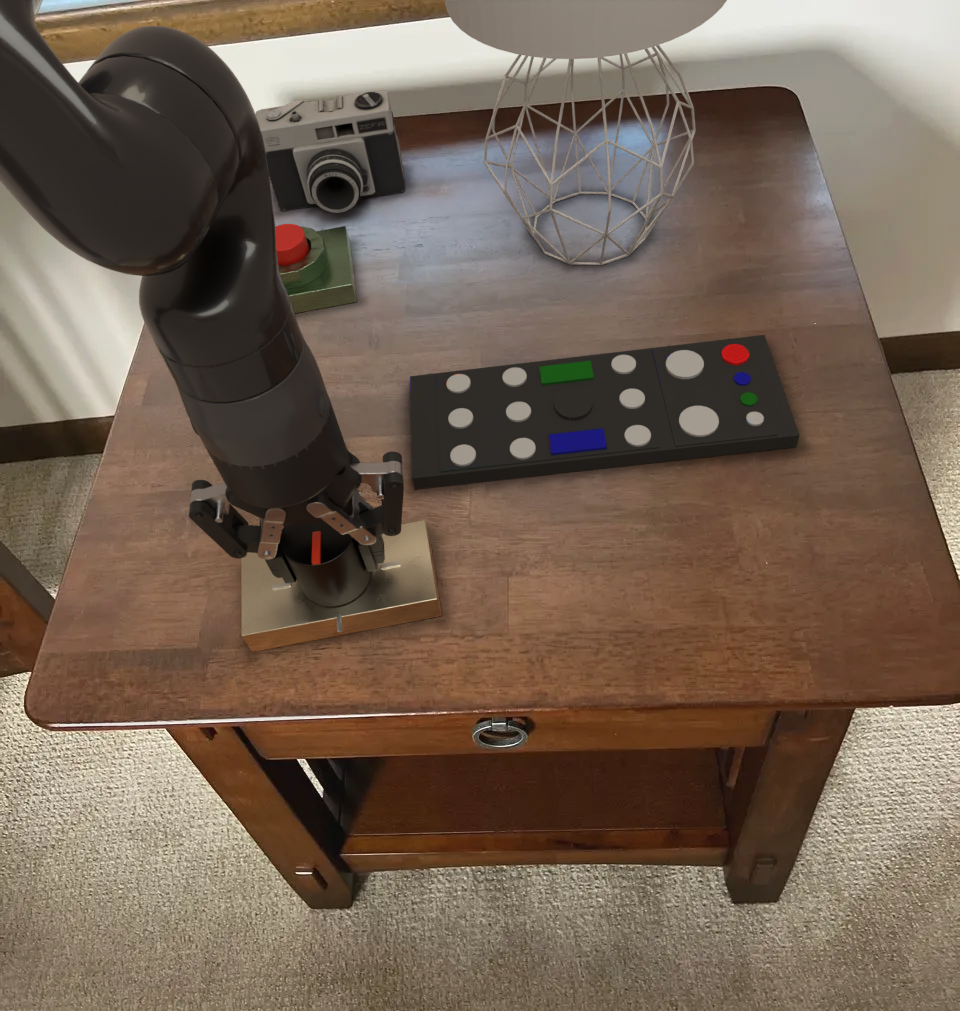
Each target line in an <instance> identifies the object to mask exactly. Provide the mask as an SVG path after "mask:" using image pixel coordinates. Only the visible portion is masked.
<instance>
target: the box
mask: <svg viewBox="0 0 960 1011" xmlns="http://www.w3.org/2000/svg"><path fill="white" fill-rule="evenodd" d="M300 227H301V228H302V229H303V230H304V233H305V236H306V239H307V242H308V246H309V252H308V254H307V256H306V257H305V258H304V259H302V260H300V261H299V262H297V263H295V264H290V265H284V266H279V265H278V269H279V274H280V276H281V279H282V281H283V283H284V286H285V289H286V291H287V294H288V297H289V300H290V302H291V305H292V308H293V311H294V314H299V313H305V312H309V311H315V310H320V309H321V310H322V309H326V308H331V307H335V306H337V307H338V306H342V305H347V304H353V303H357V301H358V299H357V290H356V281H355V276H354V275H355V273H354V265H353V256H352V248H351V241H350V237H349V234H348V230H347V226H346V225H342V226H338V227H333V228H327V229H321V230H315V229H314V228H312V227H305V226H300Z"/></svg>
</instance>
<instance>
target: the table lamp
mask: <svg viewBox="0 0 960 1011" xmlns="http://www.w3.org/2000/svg"><path fill="white" fill-rule="evenodd" d="M727 1H728V0H444V5H445V9H446V12H447V14H448V16H449V18H450V19H451V21H452V23H453V24H454V25H455V26H456V27H457V28H458V29H459V30H460V31H462V33H464V34H466V35H467V36H469V37H470V38H471V39H474V40H476V41H478V42H479V43H481V44H483V45H486V46H488V47H490V48H494V49H496V50H499V51H503V52H506V53H511V54H514V55H517V57H515V59H514V61H513V62H512V64H511V65H510V66H509V68H508V70H507V71H506V73H505V74H504V77H503V78H502V82H501V85H500V88H499V90H498V93H497V96H496V99H495V102H494V105H493V107H492V116H491V119H490V122H489V126H488V129H487V132H486V136H485V138H484V149H483V150H484V152H483V163H484V165H485V168H487V170H488V171H489V173H490V175H491V176H492V178H493V179H494V180H495V183H496V185H497V186H498V187H499V189H500V190H501V192H502V194H503V195H504V197H505V198H506V199H507V201H508V203H509V204H510V206H511V207H512V209H513V210H514V211H515V213H516V214H517V216H518V217H519V219H520V220H521V222H522V223H523V225H524V226H525V228H526V229H527V232H528V233H529V234H530V235H531V236H532V238H533V239H534V241H535V242H536V244H537V246H538V247H539V249H540V250H541V251H542V253H543V254H544V255H547V256H549V257H551V258H553V259H555V260H558V261H560V262H563V263H564V264H567V265H576V266H577V265H579V266H580V265H581V266H603V265H606V264H609V263H613V262H614V261H617V260H620V259H623V258H628V257H629V256H630V255H631V254H633V252H634V251H636V250H637V248H638V247H640V246H641V244H643V242H645V241H646V239H647V237H648V236H649V235H650V233H651V231H652V230H653V229H654V228H655V226H656V225H657V223H658V221H659V220H660V218H661V217H662V216H663V214H664V212H665V211H666V210H667V208H668V207H669V205H670V204H671V202H672V201H673V199H674V198H675V195H676V194H677V192H678V191H679V189H680V187H681V186H682V184H684V181H685V179H686V178H687V176H688V175H689V173H690V171H691V170H692V169H693V167H694V165H695V156H694V146H693V139H694V137H695V134H696V132H697V131H696V130H697V129H696V118H695V107H694V104H693V101H692V100H691V97H690V93H689V91H688V89H687V86H686V83H685V81H684V78H683V74H681V72H680V71H679V70H678V68H677V67H676V66H675V64H674V63H673V62H672V60H671V59H670V58H669V56H668V55H667V54H666V52H665V51H664V49H663V48H662V46H660V45H662V44H665V43H667V42H670V41H671V42H672V41H673V40H675V39H678V38H680V37H682V36H684V35H686V34H689V33H690V32H692V31H693V30H695V29H697V28H698V27H701V26H702V25H703V24H705V23H706V22H707V21H709V20H710V19H711V18H712V17H714V16H715V15H716V14H717V13H718V12H719V11H720V10H721V9H722V8H723V6H724V5H725V4H726V3H727ZM650 48H651V49H652V51H653V52H654V53H651V51H650V50H649V49H650ZM642 50H644V51H645V53H646V54H647V56H645V57H642V58H641V59H639V60H636V61H634V62H632V63H631V61H630V58H629V55H628V54H629V53H634V52H638V51H642ZM618 55H619V60H620V61H619V62H620V65H619V64H618V63H616V62H614V61H612V60H609V59H608V58H607V57H615V56H618ZM661 55H662V56H661ZM522 56H524V58H523V59H522V61H521V63H520V64H519V66H518V68H517V69H516V71H515V73H514V74H513V76H512V77H511V76H509V75H510V74H511V72H512V70H513V69H514V68H515V66H516V64H517V63H518V61H519V60H520V59H521V57H522ZM623 56H624V59H625V61H626V63H627V65H625V64H624V59H623ZM529 57H530V61H529V65H528V68H527V73H526V77H525V80H521V79H518V78H517V76H518V74H519V72H520V71H521V69H522V68H523V66H524V64H525V63H526V62H527V59H528V58H529ZM655 57H656V58H657V61H658V63H657V62H656V59H655ZM663 57H664V58H663ZM534 58H541V59H542V60H541V63H540V65H539V68H538V70H537V71H536V72H535V73H534V74H533V75H532V76H531V77H530V74H531V70H532V66H533V63H534ZM547 59H549V60H550V61H548V62H547V63H546V61H547ZM583 59H597V67H598V77H599V86H600V87H599V88H600V89H599V90H600V97H601V98H600V100H601V108H600V109H599V110H598V111H597V112H595V113H594V114H593V115H592V116H591V117H590V118H588V120H587V121H586V122H584V123H583V124H582V125H581V126H580V127H579V128H578V129H577V124H576V110H575V99H574V97H575V96H574V64H575V63H574V62H575V60H583ZM664 59H665V60H664ZM557 60H568V63H567V69H566V75H565V80H564V86H563V91H562V98H561V103H560V107H559V108H560V109H559V115H558V119H557V121H556V120H555V119H553V118H551V117H550V116H548V115H546V114H544V113H543V112H541V111H540V110H537V108H536V109H535V108H534V107H533V106H531V105H528V103H529V101H530V99H531V97H532V94H533V92H534V90H535V87H536V86H537V85H536V84H537V83H538V80H539V77H540V75H541V73H542V72H543V71H544V70H545V69H547V68H548V67H549V66H550V65H552V64H553V63H554V62H555V61H557ZM647 60H650V61H651V63H652V64H653V66H654V68H655V69H656V70H657V73H658V74H659V77H660V78H661V80H662V81H663V83H664V84H665V98H666V105H665V109H664V111H663V114H662V117H661V119H660V123H659V126H658V128H657V132H656V133H655V129H654V125H653V121H652V119H651V116H650V113H649V110H648V108H647V106H646V102H645V100H644V96H643V94H642V91H641V88H640V86H639V83H638V79H637V77H636V75H635V71H634V69H633V66H636V65H638V64H641V63H643V62H646V61H647ZM602 61H605V62H607V63H608V64H610V65H612V66H614V67H616V68H618V69H619V70H621V86H622V87H621V88H622V89H621V90H620V91H619V92H617V93H616V94H615V95H614V96H613V97H612V98H610V100H609V101H608V102H606V103H605V91H604V79H603V69H602ZM665 61H667V63H668V65H670V67H671V68H672V69H673V71H674V72H675V74H676V75H677V76H678V78H679V82H680V83H679V82H678V80H677V79H676V78H675V76H674V74H673V73H672V71H671V69H670V68H669V67H668V65H667V63H666V62H665ZM658 64H659V65H658ZM627 69H629V72H630V75H631V77H632V80H633V82H634V86H635V89H636V92H637V94H638V96H639V100H640V102H641V105H642V107H643V110H644V113H645V116H646V118H647V121H648V124H649V127H650V132H651V136H650V134H649V132H648V130H647V128H646V126H645V124H644V122H643V121H642V119H641V117H640V115H639V113H638V111H637V110H636V107H635V106H634V104H633V102H632V100H631V98H630V96H629V94H628V93H627V90H626V84H625V82H626V81H625V70H627ZM665 70H666V72H667V73H668V75H669V77H670V78H671V80H672V81H673V83H674V84H675V86H676V88H677V89H678V90H679V91H680V94H681V95H682V96H683V98H684V100H685V102H686V103H685V102H683V101H680V100H679V98H678V96H677V94H676V93H675V91H674V89H673V88H672V86H671V85H670V83H669V81H668V78H667V75H666V72H665ZM507 79H508V80H510V81H509V82H508V84H507V86H506V87H505V84H506V82H507ZM532 80H533V82H532V84H531V87H530V90H529V92H528V84H529V83H530V82H531V81H532ZM569 80H570V100H571V114H572V126H573V130H572V129H570V127H569V128H568V127H567V126H565V125H564V124H562V119H563V115H564V114H563V113H564V107H565V102H566V96H567V90H568V84H569ZM513 82H516V83H520V84H523V85H524V90H523V91H524V96H523V106H522V108H521V111H520V112H519V113H520V114H519V116H518V118H517V121H516V123H515V124H514V125H512V126H510V127H508V128H505V129H503V130H500V131H498V132H496V131H495V128H496V125H495V124H496V116H497V113H498V110H499V107H500V105H501V103H502V101H503V99H504V97H505V96H506V94H507V93H508V91H509V89H510V87H511V86H512V84H513ZM680 84H681V85H680ZM681 86H682V87H681ZM504 87H505V89H504ZM670 94H671V96H672V97H673V99H674V101H675V102H676V103H675V107H674V111H673V114H672V119H671V122H670V126H669V130H668V133H667V136H666V139H665V140H662V141H660V142H657V141H658V139H659V136H660V132H661V129H662V127H663V124H664V121H665V118H666V115H667V113H668V109H669V106H670ZM620 95H621V97H620V104H619V112H618V119H617V126H616V132H615V138H614V141H612V140H609V134H608V123H607V113H606V108H607V107H608V106H609V105H610V104H611V103H613V101H615V100H616V99H617V98H618V97H619V96H620ZM624 97H625V98H626V100H627V101H628V104H629V105H630V107H631V109H632V111H633V113H634V115H635V117H636V119H637V121H638V122H639V124H640V127H641V128H642V130H643V132H644V134H645V136H646V137H647V139H648V141H649V144H650V145H651V146H650V147H649V149H648V150H646V151H645V153H644V154H643V155H640V154H638V153H636V152H634V151H632V150H631V149H628V148H626V147H624V146H622V145H620V144H618V141H619V136H620V135H619V134H620V128H621V127H620V126H621V120H622V112H623V104H624ZM682 106H683V107H686V108H688V109H690V112H691V113H690V114H691V124H692V129H691V130H690V128H689V125H688V122H687V119H686V116H685V113H684V110H683V108H682ZM529 110H530V111H532V112H534V113H536V114H537V115H539V116H541V117H542V118H544V119H546V120H547V121H549V122H551V123H553V124H555V125H556V130H555V131H556V132H555V137H554V145H553V156H552V162H551V163H552V164H551V174H550V176H549V175H548V173H547V170H546V167H545V163H544V160H543V157H542V153H541V151H540V147H539V144H538V140H537V137H536V133H535V130H534V127H533V122H532V119H531V115H530V112H529ZM678 110H679V113H680V116H681V119H682V121H683V124H684V127H685V130H686V132H683V133H680V134H678V135H675V136H672V132H673V128H674V125H675V121H676V118H677V113H678ZM525 113H526V116H527V120H528V124H529V127H530V128H529V129H530V131H531V133H532V135H531V136H532V138H533V141H534V145H535V148H536V151H537V155H538V156H537V155H536V153H535V151H534V149H533V148H532V146H531V145H530V143H529V141H528V140H527V138H526V136H525V134H524V133H523V131H522V127H523V121H524V117H525ZM600 113H602V119H603V120H602V122H603V131H604V140H603V141H602V142H601V143H599V144H598V145H597V146H595V148H593V149H592V150H590V151H589V152H588V151H587V150H586V147H585V146H584V145H583V142H582V140H581V139H580V137H579V135H578V133H580V132H581V131H582V130H583V129H584V128H585V127H586V126H587V125H588V124H590V122H592V121H593V120H594V119H595V118H596V117H597V116H598V115H599V114H600ZM561 128H562V129H563V130H565V131H567V132H569V133H571V134H572V138H571V141H570V143H569V148H568V150H567V154H566V156H565V159H564V163H563V167H562V169H561V172H560V176H558V177H557V178H555V168H556V162H557V151H558V142H559V135H560V129H561ZM511 130H513V133H512V138H511V142H510V146H509V150H508V154H507V153H506V151H505V149H504V147H503V145H502V143H501V140H500V139H499V135H502V134H505V133H507V132H509V131H511ZM491 131H492V134H491ZM685 136H688V139H687V141H686V142H685V144H684V147H683V149H682V151H681V153H680V155H679V157H678V159H677V160H676V162H675V164H674V166H673V168H672V170H671V171H670V173H669V175H668V177H667V179H666V180H665V182H664V180H663V166H664V162H665V159H666V156H667V151H668V147H669V144H670V142H672V141H674V140H676V139H679V138H682V137H685ZM520 137H521V138H522V140H523V141H524V143H525V145H526V147H527V148H528V150H529V152H530V153H531V155H532V157H533V158H534V160H535V162H536V163H537V165H538V167H539V169H540V170H541V172H542V174H543V175H544V177H545V181H546V184H547V187H548V192H549V194H548V193H547V192H546V191H544V190H543V189H542V188H540V187H539V186H537V184H535V183H534V182H533V181H531V180H530V179H529V178H527V177H526V175H523V174H522V173H521V172H520V171H519V170H517V169H516V168H515V167H514V162H515V158H516V154H517V150H518V145H519V140H520ZM651 137H652V138H651ZM493 138H495V140H496V142H497V144H498V146H499V148H500V150H501V153H502V154H503V156H504V158H505V160H506V162H505V164H504V163H498V162H495V161H490V160H487V159H488V147H489V146H488V144H489V140H491V139H493ZM578 144H579V145H580V147H581V149H582V150H583V152H584V156H583V157H582V158H581V159H580V160H579V151H578ZM609 144H610V145H612V146H614V147H613V154H612V159H611V167H610V150H609V148H610V147H609ZM573 145H574V146H575V147H574V150H575V160H576V161H575V164H573V165H572V166H571V167H569V168H568V169H567V170H566V167H567V164H568V162H569V158H570V154H571V151H572V148H573ZM604 145H605V157H606V174H607V186H606V184H605V181H604V180H603V178H602V176H601V175H600V172H599V171H598V169H597V168H596V166H595V164H594V162H593V160H592V158H591V156H592V155H593V154H594V153H596V152H597V151H598V150H599V149H600V148H601V147H603V146H604ZM661 145H664V149H663V152H662V155H661V156H660V152H659V147H658V146H661ZM617 148H618V149H620V150H622V151H624V152H626V153H628V154H630V155H632V156H634V157H635V158H638V160H637V161H636V162H635V163H634V164H633V165H632V166H631V167H630V168H629V170H628V171H626V172H625V174H624V175H622V177H621V178H620V179H619V180H618V181H617V182H616V183H615V184H613V186H612V181H613V175H614V167H615V160H616V154H617ZM689 152H690V161H691V163H690V165H689V166H688V168H687V170H686V171H685V173H684V175H683V176H682V174H683V170H684V168H685V164H686V161H687V159H688V155H689ZM647 155H648V157H647V158H646V156H647ZM655 156H656V159H657V163H656V162H654V159H655ZM538 157H539V158H538ZM682 158H683V159H682ZM586 159H587V160H588V162H589V163H590V165H591V167H592V169H593V170H594V171H595V174H596V175H597V178H598V180H599V181H600V182H601V185H602V187H603V188H604V190H605V191H582V190H581V188H582V187H581V177H580V176H581V175H580V164H582V163H583V162H584V161H585V160H586ZM681 160H682V162H681V166H680V169H679V172H678V174H677V176H676V180H675V184H674V186H673V189H672V193H671V194H669V193H667V192H664V191H665V190H666V187H667V185H668V184H669V182H670V180H671V178H672V176H673V175H674V173H675V171H676V170H677V168H678V166H679V163H680V161H681ZM642 161H644V162H645V165H644V168H643V170H642V172H641V173H642V174H641V176H640V179H639V181H638V184H637V186H636V190H635V192H634V195H633V198H632V200H631V199H628V198H625V197H623V196H620V195H617V194H615V193H612V192H613V191H614V190H615V189H616V188H617V187H618V186H619V185H620V184H621V182H622V181H623V180H624V179H626V177H627V176H628V175H629V174H631V172H632V171H633V170H634V169H635V168H636V167H637V166H638V165H639V164H640V163H641V162H642ZM649 164H650V168H649V175H648V176H649V178H648V187H647V196H646V197H647V198H646V202H645V204H643V205H642V206H641V207H639V206H638V205H637V203H635V201H636V198H637V197H638V193H639V191H640V188H641V185H642V183H643V179H644V177H645V174H646V172H647V169H648V166H649ZM490 165H491V166H496V167H501V168H505V169H504V186H503V185H502V183H501V181H500V180H499V179H498V177H497V176H496V174H495V172H494V171H493V169H492V167H491V166H490ZM654 167H655V168H658V170H659V171H658V172H659V189H660V191H659V193H658V194H657V195H656V196H653V198H651V189H652V180H653V179H652V178H653V169H654ZM575 168H576V173H577V174H576V175H577V182H578V183H577V186H578V191H577V192H575V193H571V194H568V195H565V196H561V197H558V198H557V195H558V192H559V190H560V186H561V182H562V180H563V178H564V177H565V176H567V175H568V174H569V173H570V172H571V171H573V170H574V169H575ZM509 169H510V171H511V174H512V178H513V181H514V185H515V187H516V190H517V193H518V197H519V200H520V202H521V206H522V209H523V212H524V215H525V216H523V215H522V213H521V212H520V210H519V208H518V206H517V205H516V204H515V202H514V200H513V199H512V197H511V195H510V194H509V192H508V191H507V189H508V171H509ZM518 176H519V177H521V178H522V179H523V180H525V181H526V182H527V183H529V184H530V185H531V186H532V187H534V188H535V189H536V190H538V191H539V193H541V194H542V195H544V196H545V197H546V198H548V199H549V204H548V205H546V206H545V207H544V208H543V209H542V210H541V211H538V212H537V211H536V209H535V208H534V206H533V204H532V202H531V200H530V198H529V196H528V195H527V193H526V190H525V188H524V186H523V185H522V183H521V181H520V179H519V177H518ZM681 176H682V178H681ZM554 178H555V179H554ZM680 179H681V180H680ZM555 184H556V188H555V191H554V185H555ZM521 191H522V193H523V195H524V198H525V199H526V201H527V203H528V206H529V208H530V209H531V211H532V213H531V214H528V211H527V208H526V205H525V202H524V198H523V196H522V193H521ZM578 195H607V204H608V205H607V209H608V210H607V216H606V224H605V229H604V231H602V230H600V229H598V228H595V227H594V226H591V225H589V224H586V223H584V222H582V221H581V220H578V219H576V218H573V217H571V216H569V215H567V214H565V213H562V212H561V211H558V210H556V209H554V208H553V207H554V206H553V204H555V203H558V202H560V201H563V200H566V199H568V198H571V197H575V196H578ZM612 197H615V198H617V199H620V200H622V201H625V202H627V203H630V204H632V205H633V206H634V207H635V209H637V210H636V211H634V212H632V213H631V214H630V215H629V216H627V217H626V218H624V219H623V220H622V221H621V222H619V223H618V224H616V225H615V226H614V227H612V228H611V229H610V230H609V227H610V222H611V221H610V220H611V214H612ZM662 197H667V199H666V200H665V201H664V202H662V203H661V204H660V205H659V203H660V201H661V199H662ZM650 198H651V199H650ZM651 204H652V206H651V208H650V205H651ZM658 205H659V206H658ZM643 210H645V213H644V212H643ZM658 211H659V212H658ZM657 212H658V213H657ZM546 213H550V215H551V218H552V222H553V225H554V227H555V228H554V229H555V231H556V234H557V236H558V239H559V243H560V244H561V248H562V249H563V252H564V255H565V256H564V255H563V253H562V252H561V251H559V250H558V249H557V248H556V247H555V246H554V245H553V244H552V243H551V242H550V241H548V239H547V238H545V237H544V236H543V235H542V234H541V233H540V232H539V231H538V230H537V229H536V228H537V223H538V218H539V217H540V216H541V215H542V214H546ZM638 213H639V214H640V215H641V216H642V217H643V218H644V224H643V226H642V227H641V228H640V231H639V232H638V234H637V236H636V238H635V239H634V241H633V242H632V245H631V246H630V248H629V249H628V250H627V249H625V248H624V247H623V246H622V245H621V244H619V243H618V242H617V241H616V240H615V239H613V238H612V237H611V236H610V234H611V233H613V232H614V231H615V230H617V229H618V228H620V227H621V226H622V225H624V224H625V223H626V222H628V221H630V219H632V218H633V217H634V216H636V215H637V214H638ZM656 213H657V214H656ZM555 214H556V215H559V216H561V217H563V218H565V219H568V220H569V221H571V222H575V223H576V224H578V225H581V226H583V227H585V228H587V229H590V230H592V231H594V232H596V233H598V234H600V235H601V236H600V237H599V238H597V239H596V240H595V241H593V242H592V243H591V244H590V245H589V246H587V247H586V248H585V249H583V251H581V252H580V253H579V254H577V255H576V256H575V257H573V258H572V259H571V260H570V256H569V253H568V251H567V248H566V245H565V243H564V240H563V237H562V235H561V231H560V229H559V225H558V223H557V220H556V216H555ZM655 214H656V215H655ZM654 215H655V217H654V218H653V219H652V221H651V222H650V220H651V218H652V216H654ZM533 217H534V224H533V226H532V223H531V220H530V218H533ZM648 224H649V225H648ZM536 235H537V236H538V237H539V238H540V239H541V240H542V241H543V242H544V243H546V244H547V245H548V246H549V247H550V248H551V249H552V250H553V251H554V252H555V253H556V254H557V255H558V256H557V255H556V254H553V253H551V252H548V251H546V250H545V248H544V247H543V245H542V244H541V242H540V241H539V239H538V238H537V236H536ZM607 239H608V240H609V241H610V242H612V244H614V245H615V246H616V247H617V248H618V249H620V250H621V251H622V252H623V253H624V254H621V255H618V256H616V257H613V258H610V259H607V260H604V255H605V249H606V243H607ZM602 240H603V242H602V248H601V253H600V259H599V262H591V261H590V262H589V261H586V262H583V261H582V262H581V261H580V262H579V261H577V260H579V258H581V257H582V256H583V255H584V254H586V253H587V252H588V251H590V250H591V249H592V248H593V247H595V246H596V245H597V244H598V243H600V242H601V241H602Z"/></svg>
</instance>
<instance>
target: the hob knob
mask: <svg viewBox="0 0 960 1011" xmlns="http://www.w3.org/2000/svg"><path fill="white" fill-rule="evenodd" d="M280 545H281V548H282V551H283V553H284V555H285V557H286V559H287V561H288V563H289V565H290V567H291V569H292V571H293V573H294V575H295V577H296V579H297V581H298V583H299V585H300V587H301V589H302V590H303V592H304V594H305V595H306V597H307V598H308V599H310V600H311V601H312V602H314V603H316V604H319V605H322V606H339V605H343V604H346V603H348V602H350V601H352V600H354V599H355V598H357V597H358V596H359V595H360V594H361V593H362V592H363V591H364V590H365V588H366V587H367V585H368V583H369V580H370V577H371V571H370V572H368V571H367V569H366V566H365V563H364V561H363V558H362V556H361V553H360V551H359V548H358V541H356V540H355V539H354V538H353V537H351V536H350V535H349V534H348V533H347V534H344V535H341V534H340V533H339V532H337V531H336V530H335V529H334V528H332V527H331V526H330V525H328V524H327V523H326V522H322V523H305V524H302V525H298V526H295V527H288V528H284V527H283V528H282V533H281V538H280Z"/></svg>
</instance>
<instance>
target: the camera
mask: <svg viewBox="0 0 960 1011" xmlns="http://www.w3.org/2000/svg"><path fill="white" fill-rule="evenodd" d="M389 96H390V95H389V92H388V90H386V89H379V90H374V91H365V92H361V93H355V94H348V95H343V96H342V95H341V94H339V95H336V98H335V99H330V100H324V97H320V98H319V99H318V100H311V99H307V100H303V99H301V100H294V101H291V102H289V103H287V104H285V105H281V106H280V105H279V106H274V107H268V108H262V109H258V110H257V111H255V114H256V117H257V120H258V123H259V127H260V130H261V133H262V137H263V142H264V146H265V152H266V158H267V164H268V171H269V178H270V184H271V187H272V189H273V192H274V195H275V198H276V201H277V204H278V207H279V210H280V211H281V212H284V211H285V212H286V211H292V210H298V209H304V208H311V207H319V208H320V209H322V210H323V211H326V212H329V213H335V214H337V213H338V214H339V213H344V212H347V211H349V210H351V209H353V207H355V206H356V205H357V204H358V202H359V200H364V199H370V198H377V197H383V196H389V195H395V194H400V193H401V194H402V193H405V191H406V181H405V170H404V169H405V168H404V165H403V159H402V151H401V145H400V140H399V136H398V132H397V129H396V123H395V118H394V113H393V110H392V107H391V101H390V97H389Z"/></svg>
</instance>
